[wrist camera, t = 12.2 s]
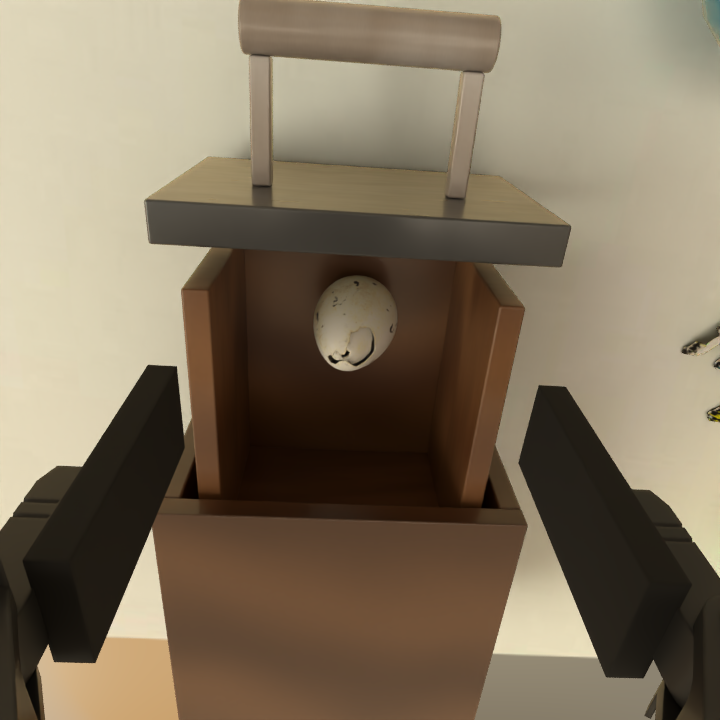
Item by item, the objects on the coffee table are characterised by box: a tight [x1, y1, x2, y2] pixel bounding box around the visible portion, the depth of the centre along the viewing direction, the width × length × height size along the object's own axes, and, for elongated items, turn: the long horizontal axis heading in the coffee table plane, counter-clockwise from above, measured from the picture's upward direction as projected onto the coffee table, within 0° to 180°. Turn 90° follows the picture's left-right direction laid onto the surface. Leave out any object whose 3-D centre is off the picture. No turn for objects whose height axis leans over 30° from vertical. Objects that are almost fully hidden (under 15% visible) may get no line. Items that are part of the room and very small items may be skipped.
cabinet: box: [152, 419, 528, 720], centre depth 26 cm, size 15×13×10 cm
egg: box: [313, 275, 398, 371], centre depth 21 cm, size 3×3×5 cm
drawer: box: [144, 0, 571, 508], centre depth 20 cm, size 18×11×8 cm, turn 176°
